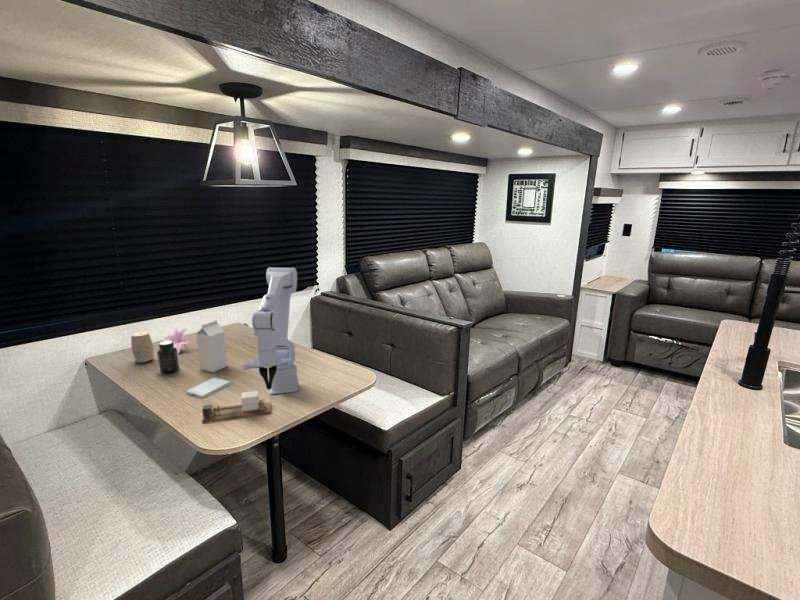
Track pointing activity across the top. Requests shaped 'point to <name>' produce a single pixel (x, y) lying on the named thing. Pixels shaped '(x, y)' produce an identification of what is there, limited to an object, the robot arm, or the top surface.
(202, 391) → the hard drive
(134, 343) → the cream barrel-shaped cylinder
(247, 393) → the white rounded cube
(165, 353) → the supplement bottle
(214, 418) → the cord rail
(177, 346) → the lily
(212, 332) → the milk carton
